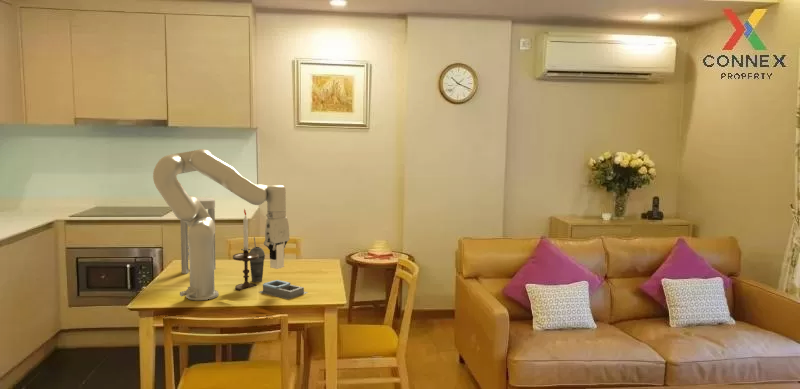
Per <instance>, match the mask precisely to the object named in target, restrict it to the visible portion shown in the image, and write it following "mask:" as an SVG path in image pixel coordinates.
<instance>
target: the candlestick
mask: <svg viewBox="0 0 800 389" xmlns="http://www.w3.org/2000/svg"><path fill="white" fill-rule="evenodd" d="M243 213H244V217H243V222H242V223H243V226H242V227H243V228H242V230H243V248H242V249H241V251H242V252H241V253H235V254H233V255H232V259H233V260H235V261H238V262H239V261H240V262H244V264H243V266H244V269H243V270H242V273H243V279H244V282H243V283H239V284H236V285H235V288H234V289H235V290H236V291H244V290H246V289H250V288H253V287H257V286H258V285H257V284H256V283H254V282H252V283H251V282H249V278H250V276H249V273H250V270H249V269H248V268H249V266H248V265H249V264H248V262H250V260H255V259H258V258H259V254H256V253H249V251H250V250H251V249H252V248H249V218H248V217H247V212H246V209H245V208H244V209H243Z"/></svg>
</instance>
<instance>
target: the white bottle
mask: <svg viewBox="0 0 800 389" xmlns="http://www.w3.org/2000/svg"><path fill="white" fill-rule="evenodd" d="M272 246H273V244H272ZM275 250H276V260H273V259H270V258H269V260H270V261H269V266H270V267H269V268H270V269H271V268H272V269H275V270H277V269H282V268H284V267H285V248H284V244H283V243H282V242H281V243H276V246H275Z"/></svg>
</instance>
